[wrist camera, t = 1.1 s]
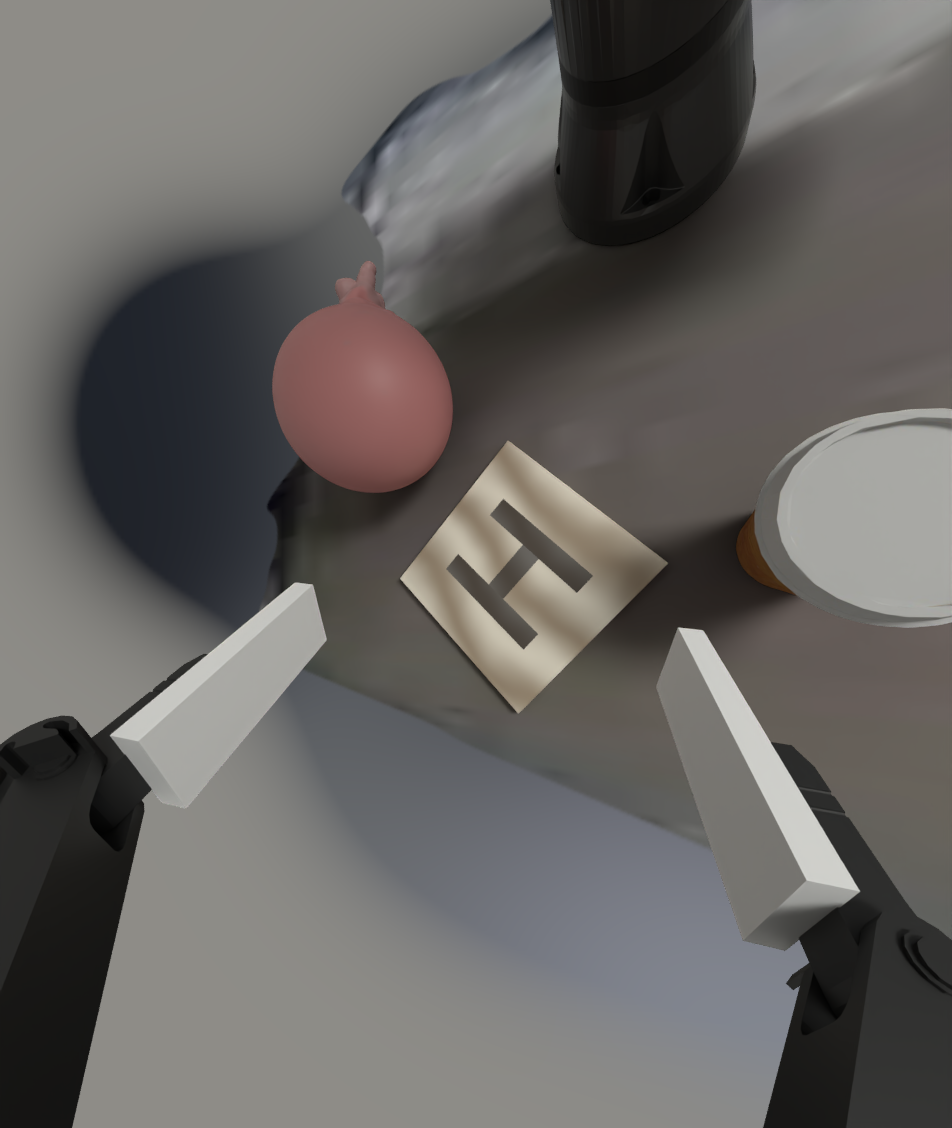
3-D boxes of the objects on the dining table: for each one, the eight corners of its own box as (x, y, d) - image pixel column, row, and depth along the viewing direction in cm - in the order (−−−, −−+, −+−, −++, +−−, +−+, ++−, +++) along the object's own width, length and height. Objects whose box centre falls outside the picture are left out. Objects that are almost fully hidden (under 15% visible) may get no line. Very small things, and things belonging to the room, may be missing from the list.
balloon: (494, 321, 36) (408, 151, 22) (468, 512, 36) (363, 460, 22) (377, 343, 43) (253, 221, 29) (353, 505, 42) (216, 461, 28)
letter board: (510, 443, 34) (507, 440, 34) (667, 563, 28) (668, 563, 27) (404, 578, 38) (399, 578, 38) (521, 711, 32) (518, 713, 31)
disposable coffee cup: (685, 524, 28) (719, 479, 17) (822, 456, 25) (972, 348, 14) (757, 635, 26) (850, 667, 15) (918, 575, 22) (1191, 559, 11)
